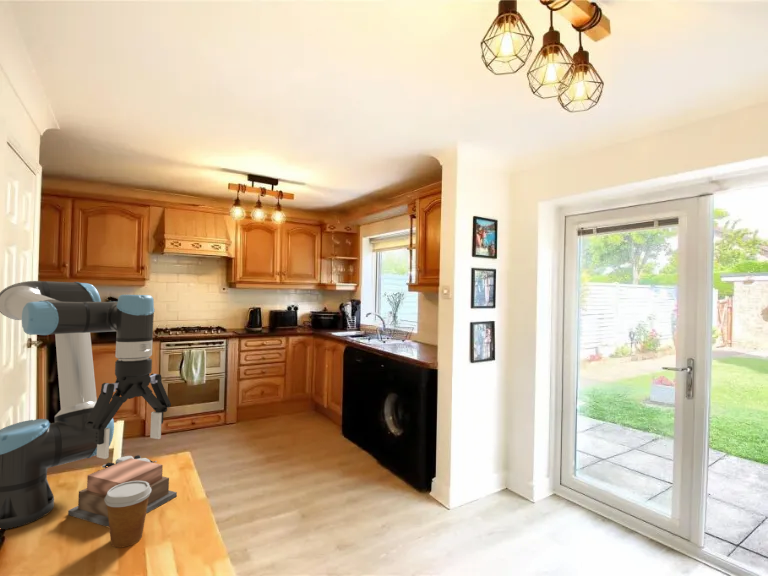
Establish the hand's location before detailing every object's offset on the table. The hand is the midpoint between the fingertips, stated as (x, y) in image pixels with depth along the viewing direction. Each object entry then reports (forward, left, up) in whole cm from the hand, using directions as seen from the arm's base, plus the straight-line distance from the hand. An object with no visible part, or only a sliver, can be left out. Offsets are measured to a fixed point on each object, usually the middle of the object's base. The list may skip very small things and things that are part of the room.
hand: (130, 447), depth 96 cm
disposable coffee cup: (0, 0, -22) cm, 22 cm away
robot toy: (-33, +26, -22) cm, 48 cm away
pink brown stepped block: (-15, +11, -22) cm, 29 cm away
